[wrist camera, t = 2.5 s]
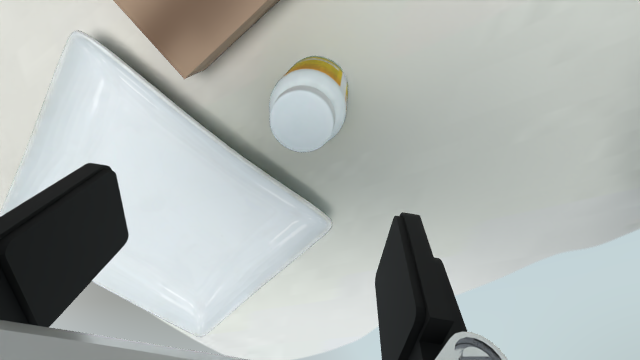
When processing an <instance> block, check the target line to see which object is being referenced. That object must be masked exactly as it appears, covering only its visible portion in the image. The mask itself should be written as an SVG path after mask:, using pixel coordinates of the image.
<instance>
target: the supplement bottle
mask: <svg viewBox="0 0 640 360" xmlns="http://www.w3.org/2000/svg"><path fill="white" fill-rule="evenodd" d="M347 97H348V83H347V79H346V76H345V74H344V72H343V71H342V69H341V68H340V67H339V66H338V65H337V64H336V63H335V62H333V61H332V60H330V59H328V58H325V57H321V56H310V57H306V58H304V59H302V60H300V61H299V62H297V63H296V64H295V65H294V66H293V67H292V68H291V69H290V70H289V71H288V72H287V73H286V74H285V75H284V76H283V77H282V78H281V79H280V80H279V81H278V83H277V84H276V85H275V87H274V89H273V91H272V93H271V97H270V102H269V110H270V127H271V130H272V133H273V135H274V136H275V138H276V139H277V140H278V141H279V142H280V143H281V144H282V145H283V146H285V147H286V148H288V149H290V150H292V151H296V152H310V151H314V150H316V149H318V148H320V147H322V146H323V145H324V144H325V143H326V142H327V141H329V140H330V139H332V138H333V137H334V136H335V135H336V134H337V133H338V132H339V130H340V129H341V127H342V125H343V123H344V120H345V117H346V110H347Z"/></svg>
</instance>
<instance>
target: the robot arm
mask: <svg viewBox="0 0 640 360" xmlns="http://www.w3.org/2000/svg"><path fill="white" fill-rule="evenodd" d="M128 236H129V234H128V228H127V224H126V219H125V214H124V209H123V204H122V200H121V195H120V190H119V185H118V180H117V175H116V173H115V172H114V171H112V169H111V168H110V167H109V166H107V165H101V164H95V163H87V164H85V165H83V166H82V167H80V168H78V169H77V170H75V171H74V172H72V173H70V174H69V175H67V176H66V177H64V178H62V179H61V180H59V181H57V182H56V183H54V184H53V185H51V186H49V187H48V188H46V189H44V190H43V191H41V192H40V193H38V194H36V195H35V196H33V197H32V198H30V199H28V200H27V201H25V202H23V203H22V204H20V205H19V206H17V207H15V208H14V209H12V210H11V211H9V212H7V213H6V214H4V215H2V216H1V217H0V360H248V359H242V358H236V357H230V356H224V355H218V354H212V353H206V352H200V351H193V350H187V349H181V348H174V347H169V346H162V345H156V344H150V343H143V342H138V341H131V340H125V339H119V338H113V337H106V336H100V335H94V334H87V333H80V332H74V331H67V330H61V329H55V328H49V326H50V325H51V324H52V323H53V322H54V321H55V320H56V319H57V318H58V317H59V316H60V315H61V314H62V313H63V311H64V310H65V309H66V308H67V307H68V306H69V305H70V304H71V303H72V302H73V300H75V298H76V297H77V296H78V295H79V294H80V293H81V292H82V291H83V290H84V289H85V287H87V285H88V284H89V283H90V282H91V281H92V280H93V279H94V278H95V277H96V276H97V275H98V273H99V272H100V271H101V270H102V269H103V268H104V267H105V266H106V265H107V264H108V263H109V262H110V260H111V259H112V258H113V257H114V256H115V255H116V254H117V253H118V252H119V251H120V250H121V248H122V247H123V246H124V245H125V244H126V242H127V240H128ZM375 288H376V298H377V309H378V320H379V331H380V342H381V353H382V360H507V358H506V357H505V355H504V354H503V353H502V352H501V350H500V349H499V348H498V347H496V346H495V345H494V344H493V343H492V342H490V341H489V340H488V339H486V338H484V337H482V336H481V335H478V334H475V333H472V332H467V330H466V327H465V324H464V321H463V318H462V315H461V313H460V310H459V307H458V304H457V301H456V299H455V296H454V293H453V290H452V287H451V285H450V282H449V279H448V276H447V273H446V271H445V268H444V265H443V263H442V261H441V260H440V259H439V258H434V257H433V254H432V251H431V248H430V245H429V242H428V239H427V236H426V233H425V230H424V227H423V224H422V221H421V218H420V216H419V215H415V214H409V213H403V212H402V213H401V214H400V216H395V217H394V219H393V222H392V225H391V228H390V231H389V234H388V238H387V241H386V244H385V247H384V250H383V254H382V257H381V260H380V263H379V266H378V270H377V273H376V278H375Z"/></svg>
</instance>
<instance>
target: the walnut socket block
mask: <svg viewBox="0 0 640 360" xmlns="http://www.w3.org/2000/svg"><path fill="white" fill-rule="evenodd" d="M278 1H279V0H114V2H115V3H116V4H117V5H118V6H119V7H120V8H121V9H122V10H123V12H124V13H125V14H126V15H127V16H128V17H129V18H130V19H131V20H132V22H133V23H134V24H135V25H136V26H137V27H138V28H139V29H140V30H141V31H142V33H143V34H144V35H145V36H146V37H147V38H148V39H149V40H150V41H151V43H152V44H153V45H154V46H155V47H156V48H157V49H158V50H159V51H160V53H161V54H162V55H163V56H164V57H165V58H166V59H167V60H168V61H169V62H170V64H171V65H172V66H173V67H174V68H175V69H176V70H177V71H178V72H179V74H180V75H181V76H182V77H183V78H184V79H185V78H188V77H190V76H192V75H194V74H196V73H198V72H200V71H203V70H205V69H206V68H207V67H208V66H209V65H210V64H211V63H213V62H214V61H215V60H216V59H217V58H218V57H219V56H220V55H221V54H222V53H223V52H224V51H225V50H227V49H228V48H229V47H230V46H231V45H232V44H233V43H234V42H235V41H236V40H237V39H238V38H239V37H241V36H242V35H243V34H244V33H245V32H246V31H247V30H248V29H249V28H250V27H251V26H252V25H253V24H255V23H256V22H257V21H258V20H259V19H260V18H261V17H262V16H263V15H264V14H265V13H266V12H267V11H269V10H270V9H271V8H272V7H273V6H274V5H275V4H276V3H277V2H278Z"/></svg>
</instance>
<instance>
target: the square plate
mask: <svg viewBox="0 0 640 360" xmlns="http://www.w3.org/2000/svg"><path fill="white" fill-rule="evenodd" d="M87 163H95V164H101V165H107V166H109V167H110V168H111V169H112V171H114V172H115V173H116V175H117V180H118V185H119V190H120V195H121V200H122V204H123V209H124V214H125V219H126V224H127V228H128V234H129V236H128V240H127V242H126V244H125V245H124V246H123V247H122V248H121V250H120V251H119V252H118V253H117V254H116V255H115V256H114V257H113V258H112V259H111V260H110V262H109V263H108V264H107V265H106V266H105V267H104V268H103V269H102V270H101V271H100V272H99V273H98V275H97V276H96V277H95V278H94V279H93V280H92V282H94V283H96V284H98V285H99V286H101V287H103V288H105V289H107V290H109V291H111V292H112V293H114V294H116V295H118V296H120V297H122V298H123V299H125V300H127V301H129V302H131V303H133V304H135V305H137V306H139V307H140V308H142V309H144V310H146V311H148V312H150V313H152V314H154V315H156V316H158V317H159V318H161V319H163V320H165V321H167V322H169V323H171V324H173V325H175V326H177V327H179V328H181V329H183V330H185V331H187V332H189V333H191V334H193V335H195V336H198V337H203V336H205V335H206V334H208V333H209V332H210V331H211V330H213V329H214V328H215V327H216V326H217V325H218V324H219V323H221V322H222V321H223V320H224V319H225V318H226V317H227V316H228V315H230V314H231V313H232V312H233V311H234V310H235V309H236V308H238V307H239V306H240V305H241V304H242V303H243V302H244V301H246V300H247V299H248V298H249V297H250V296H252V295H253V294H254V293H255V292H256V291H257V290H259V289H260V288H261V287H262V286H263V285H265V284H266V283H267V282H268V281H270V280H271V279H272V278H273V277H274V276H276V275H277V274H278V273H279V272H280V271H282V270H283V269H284V268H285V267H287V266H288V265H289V264H290V263H292V262H293V261H294V260H295V259H297V258H298V257H299V256H300V255H301V254H303V253H304V252H305V251H306V250H307V249H309V248H310V247H311V246H312V245H313V244H315V243H316V242H317V241H318V240H319V239H320V238H321V237H323V236H324V235H325V234H326V233H327V232H328V231H329V230H330V229H331V227H332V224H333V223H332V220H331V219H330V218H329V217H328V216H327V215H326V214H325V213H323V212H322V211H321V210H319V209H318V208H317V207H315V206H314V205H313V204H311V203H310V202H309V201H307V200H305V199H304V198H303V197H301V196H300V195H298V194H297V193H295V192H294V191H292V190H291V189H289V188H288V187H286V186H285V185H283V184H282V183H280V182H279V181H277V180H276V179H274V178H273V177H271V176H270V175H268V174H267V173H266V172H264V171H263V170H262V169H260V168H258V167H257V166H255V165H254V164H253V163H251V162H250V161H248V160H247V159H245V158H244V157H243V156H241V155H240V154H239V153H237V152H236V151H235V150H233V149H232V148H231V147H229V146H228V145H227V144H225V143H224V142H223V141H222V140H220V139H219V138H218V137H216V136H215V135H214V134H213V133H211V132H210V131H209V130H207V129H206V128H205V127H203V126H202V125H201V124H200V123H198V122H197V121H196V120H194V119H193V118H192V117H191V116H190V115H188V114H187V113H186V112H185V111H183V110H182V109H181V108H180V107H178V106H177V105H176V104H175V103H174V102H172V101H171V100H170V99H169V98H168V97H166V96H165V95H164V94H163V93H161V92H160V91H159V90H158V89H157V88H156V87H154V86H153V85H152V84H151V83H149V82H148V81H147V80H146V79H144V78H143V77H142V76H141V75H140V74H138V73H137V72H136V71H135V70H133V69H132V68H131V67H130V66H129V65H127V64H126V63H125V62H124V61H122V60H121V59H120V58H119V57H118V56H117V55H115V54H114V53H113V52H111V51H110V50H109V49H107V48H106V47H105V46H103V45H102V44H101V43H99V42H98V41H97V40H95V39H94V38H92V37H91V36H89V35H88V34H86V33H84V32H82V31H74V32H73V33H71V35H70V36H69V38H68V40H67V42H66V45H65V47H64V50H63V52H62V55H61V57H60V60H59V62H58V65H57V67H56V70H55V72H54V75H53V78H52V81H51V83H50V86H49V89H48V91H47V94H46V97H45V100H44V102H43V105H42V108H41V111H40V113H39V116H38V119H37V122H36V124H35V127H34V129H33V132H32V135H31V137H30V140H29V143H28V145H27V148H26V151H25V153H24V156H23V158H22V161H21V163H20V166H19V169H18V171H17V173H16V176H15V178H14V180H13V183H12V185H11V187H10V190H9V192H8V195H7V197H6V200H5V202H4V204H3V207H2V209H1V212H0V217H1V216H2V215H4V214H6V213H7V212H9V211H11V210H12V209H14V208H15V207H17V206H19V205H20V204H22V203H23V202H25V201H27V200H28V199H30V198H32V197H33V196H35V195H36V194H38V193H40V192H41V191H43V190H44V189H46V188H48V187H49V186H51V185H53V184H54V183H56V182H57V181H59V180H61V179H62V178H64V177H66V176H67V175H69V174H70V173H72V172H74V171H75V170H77V169H78V168H80V167H82V166H83V165H85V164H87Z"/></svg>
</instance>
